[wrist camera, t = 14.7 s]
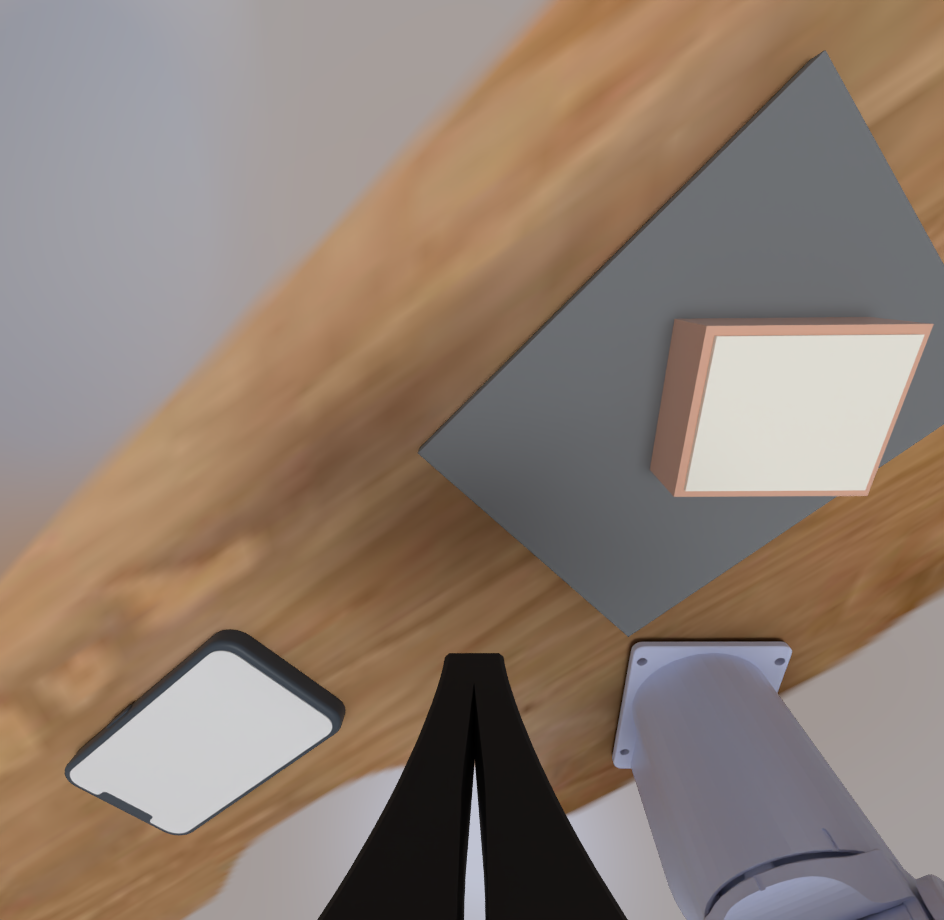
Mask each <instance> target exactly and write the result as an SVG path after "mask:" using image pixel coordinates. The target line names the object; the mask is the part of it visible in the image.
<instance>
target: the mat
mask: <svg viewBox="0 0 944 920" xmlns="http://www.w3.org/2000/svg"><path fill="white" fill-rule="evenodd" d="M804 317H875V318H884V319H893V320H903V321H912V322H921V323H930V324H934V325H933V327H932V330H931V332H930V335H929V338H928V340H927V343H926V345H925V348H924V351H923V353H922V356H921V358H920V361H919V363H918V366H917V369H916V371H915V374H914V376H913V379H912V382H911V384H910V387H909V389H908V392H907V395H906V397H905V400H904V402H903V405H902V407H901V410H900V413H899V415H898V418H897V420H896V423H895V426H894V428H893V431H892V433H891V436H890V439H889V441H888V444H887V446H886V449H885V451H884V454H883V457H882V459H881V462H880V464H879V467H878V468H880V467H881V466H883V465H884V464H886V463H887V462H888V461H890V460H891V459H893V458H894V457H896V456H897V455H899V454H900V453H902V452H903V451H905V450H906V449H908V448H909V447H911V446H912V445H914V444H915V443H917V442H918V441H920V440H921V439H923V438H924V437H926V436H927V435H929V434H930V433H932V432H933V431H934V430H936V429H937V428H939V427H940V426H942V425H943V424H944V264H943V262H942V261H941V259H940V257H939V255H938V253H937V251H936V250H935V248H934V246H933V244H932V242H931V241H930V239H929V237H928V235H927V233H926V232H925V230H924V228H923V226H922V224H921V223H920V221H919V219H918V217H917V215H916V213H915V212H914V210H913V208H912V206H911V204H910V203H909V201H908V199H907V197H906V195H905V194H904V192H903V190H902V188H901V186H900V185H899V183H898V181H897V179H896V177H895V175H894V174H893V172H892V170H891V168H890V166H889V165H888V163H887V161H886V159H885V157H884V156H883V154H882V152H881V150H880V148H879V146H878V145H877V143H876V141H875V139H874V137H873V136H872V134H871V132H870V130H869V128H868V127H867V125H866V123H865V121H864V119H863V118H862V116H861V114H860V112H859V110H858V108H857V107H856V105H855V103H854V101H853V99H852V98H851V96H850V94H849V92H848V90H847V89H846V87H845V85H844V83H843V81H842V79H841V78H840V76H839V74H838V72H837V70H836V69H835V67H834V65H833V63H832V61H831V60H830V58H829V56H828V54H827V52H826V51H823V52H821V53H820V54H818V55H817V56H815V57H814V58H812V59H811V60H810V61H809V62H808V63H807V64H806V65H805V66H804V67H803V68H802V69H801V70H800V71H799V72H797V73H796V74H795V75H794V76H793V77H792V78H791V79H790V80H789V81H788V82H787V83H786V84H785V85H784V86H783V87H782V88H781V89H780V90H779V91H778V92H777V93H776V94H775V95H774V96H773V97H772V98H771V99H770V100H769V101H768V102H767V103H766V104H765V105H764V106H763V107H762V108H761V109H760V110H759V111H758V112H757V113H756V114H755V115H754V116H753V117H752V118H751V119H750V120H749V121H748V122H747V123H746V124H745V125H744V126H743V127H742V128H741V129H740V130H739V131H738V132H737V133H736V134H735V135H734V136H733V137H732V138H731V139H730V140H729V141H728V142H727V143H726V144H725V145H724V146H723V147H722V148H721V149H720V150H719V151H718V152H717V153H716V154H715V155H714V156H713V157H712V158H711V159H710V160H709V161H708V162H707V163H706V164H705V165H704V166H703V167H702V168H701V169H700V170H699V171H698V172H697V173H696V174H695V175H694V176H693V177H692V178H691V179H690V180H689V181H688V182H687V183H686V184H685V185H684V186H683V187H682V188H681V189H680V190H679V191H678V192H677V193H676V194H675V195H674V196H673V197H672V198H671V199H670V200H669V201H668V202H667V203H666V204H665V205H664V206H663V207H662V208H661V209H660V210H659V211H658V212H657V213H656V214H655V215H654V216H653V217H652V218H651V219H650V220H649V221H648V222H647V223H646V224H645V225H644V226H643V227H642V228H641V229H640V230H639V231H638V232H637V233H636V234H635V235H634V236H633V237H631V238H630V239H629V240H628V241H627V242H626V243H625V244H624V245H623V246H622V247H621V248H620V249H619V250H618V251H617V252H616V253H615V254H614V255H613V256H612V257H611V258H610V259H609V260H608V261H607V262H606V263H605V264H604V265H603V266H602V267H601V268H600V269H599V270H598V271H597V272H596V273H595V274H594V275H593V276H592V277H591V278H590V279H589V280H588V281H587V282H586V283H585V284H584V285H583V286H582V287H581V288H580V289H579V290H578V291H577V292H576V293H575V294H574V295H573V296H572V297H571V298H570V299H569V300H568V301H567V302H566V303H565V304H564V305H563V306H562V307H561V308H560V309H559V310H558V311H557V312H556V313H555V314H554V315H553V316H552V317H551V318H550V319H549V320H548V321H547V322H546V323H545V324H544V325H543V326H542V327H541V328H540V329H539V330H538V331H537V332H536V333H535V334H534V335H533V336H532V337H531V338H530V339H529V340H528V341H527V342H526V343H525V344H524V345H523V346H522V347H521V348H520V349H519V350H518V351H517V352H516V353H515V354H514V355H513V356H512V357H511V358H510V359H509V360H508V361H507V362H506V363H505V364H504V365H503V366H502V367H501V368H500V369H499V370H498V371H497V372H496V373H495V374H494V375H493V376H492V377H491V378H490V379H489V380H488V381H487V382H486V383H485V384H484V385H483V386H482V387H481V388H480V389H479V390H478V391H477V392H476V393H475V394H474V395H473V396H472V397H471V398H470V399H469V400H468V401H467V402H465V403H464V404H463V405H462V406H461V407H460V408H459V409H458V410H457V411H456V412H455V413H454V414H453V415H452V416H451V417H450V418H449V419H448V420H447V421H446V422H445V423H444V424H443V425H442V426H441V427H440V428H439V429H438V430H437V431H436V432H435V433H434V434H433V435H432V436H431V437H430V438H429V439H428V440H427V441H426V442H425V443H424V444H423V445H422V446H421V447H420V449H419V452H418V454H419V455H420V456H422V457H423V458H424V459H425V460H426V461H427V462H428V463H430V464H431V465H432V466H433V467H434V468H435V469H436V470H438V471H439V472H440V473H441V474H442V475H443V476H444V477H446V478H447V479H448V480H449V481H450V482H451V483H453V484H454V485H455V486H456V487H457V488H458V489H459V490H461V491H462V492H463V493H464V494H465V495H466V496H467V497H469V498H470V499H471V500H472V501H473V502H474V503H475V504H477V505H478V506H479V507H480V508H481V509H482V510H483V511H485V512H486V513H487V514H488V515H489V516H490V517H492V518H493V519H494V520H495V521H496V522H497V523H498V524H500V525H501V526H502V527H503V528H504V529H505V530H506V531H508V532H509V533H510V534H511V535H512V536H513V537H514V538H516V539H517V540H518V541H519V542H520V543H521V544H523V545H524V546H525V547H526V548H527V549H528V550H529V551H531V552H532V553H533V554H534V555H535V556H536V557H537V558H539V559H540V560H541V561H542V562H543V563H544V564H545V565H547V566H548V567H549V568H550V569H551V570H552V571H554V572H555V573H556V574H557V575H558V576H559V577H560V578H562V579H563V580H564V581H565V582H566V583H567V584H568V585H570V586H571V587H572V588H573V589H574V590H575V591H576V592H578V593H579V594H580V595H581V596H582V597H583V598H585V599H586V600H587V601H588V602H589V603H590V604H591V605H593V606H594V607H595V608H596V609H597V610H598V611H599V612H601V613H602V614H603V615H604V616H605V617H606V618H607V619H609V620H610V621H611V622H612V623H613V624H614V625H615V626H617V627H618V628H619V629H620V630H621V631H622V632H624V633H625V634H626V635H627V636H628V637H629V636H630V635H632V634H633V633H635V632H636V631H638V630H639V629H641V628H642V627H644V626H645V625H647V624H648V623H650V622H651V621H653V620H654V619H656V618H657V617H659V616H660V615H661V614H663V613H664V612H666V611H667V610H669V609H670V608H672V607H673V606H675V605H676V604H678V603H679V602H681V601H682V600H684V599H685V598H687V597H688V596H690V595H691V594H693V593H694V592H696V591H697V590H699V589H700V588H702V587H703V586H705V585H706V584H707V583H709V582H710V581H712V580H713V579H715V578H716V577H718V576H719V575H721V574H722V573H724V572H725V571H727V570H728V569H730V568H731V567H733V566H734V565H736V564H737V563H739V562H740V561H742V560H743V559H745V558H746V557H748V556H749V555H751V554H752V553H753V552H755V551H756V550H758V549H759V548H761V547H762V546H764V545H765V544H767V543H768V542H770V541H771V540H773V539H774V538H776V537H777V536H779V535H780V534H782V533H783V532H785V531H786V530H788V529H789V528H791V527H792V526H794V525H795V524H797V523H798V522H799V521H801V520H802V519H804V518H805V517H807V516H808V515H810V514H811V513H813V512H814V511H816V510H817V509H819V508H820V507H822V506H823V505H825V504H826V503H828V502H829V501H831V500H832V499H834V498H835V497H837V496H739V497H674V496H673V495H672V494H671V493H670V492H669V491H668V490H667V489H666V487H665V486H664V485H663V484H662V483H661V482H660V481H659V480H658V478H657V477H656V476H655V475H654V474H653V473H652V472H651V471H650V466H651V460H652V453H653V447H654V441H655V435H656V429H657V423H658V417H659V411H660V405H661V398H662V392H663V386H664V380H665V374H666V368H667V362H668V356H669V350H670V343H671V337H672V331H673V325H674V319H696V318H804Z"/></svg>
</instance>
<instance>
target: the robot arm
mask: <svg viewBox="0 0 944 920" xmlns="http://www.w3.org/2000/svg"><path fill="white" fill-rule="evenodd" d="M791 654H792V650H791V648H790V647H789V646H788V644H787V643H785V642H638V643H636V644H635V645H633V646H632V649H631V654H630V659H629V665H628V671H627V676H626V682H625V688H624V693H623V699H622V705H621V710H620V716H619V722H618V727H617V733H616V739H615V744H614V750H613V756H612V760H613V763H614V765H615V766H616V767H618V768H632V772H633V775H634V778H635V781H636V784H637V787H638V791H639V794H640V797H641V800H642V803H643V806H644V810H645V812H646V816H647V819H648V822H649V825H650V829H651V832H652V835H653V838H654V841H655V844H656V847H657V850H658V854H659V857H660V860H661V863H662V866H663V870H664V873H665V876H666V879H667V882H668V885H669V888H670V890H671V893H672V895H673V897H674V899H675V901H676V903H677V905H678V907H679V909H680V910H681V912H682V914H683V915H684V917H685V918H686V919H687V920H944V881H943V880H941V879H940V878H939V877H937V876H935V875H932V874H931V875H926V876H923V877H921V878H919V879H915V878H914V877H913V876H911V875H910V874H909V873H908V872H907V871H906V870H904V869H903V867H902V866H901V864H900V863H899V861H898V860H897V859H896V857H895V856H894V854H893V853H892V852H891V850H890V849H889V848H888V846H887V845H886V843H885V842H884V841H883V839H882V838H881V836H880V835H879V834H878V832H877V831H876V829H875V828H874V827H873V825H872V824H871V823H870V821H869V820H868V818H867V817H866V816H865V814H864V813H863V811H862V810H861V809H860V807H859V806H858V804H857V803H856V802H855V801H854V799H853V798H852V796H851V795H850V794H849V792H848V791H847V789H846V788H845V787H844V785H843V784H842V782H841V781H840V779H839V778H838V777H837V775H836V774H835V773H834V771H833V770H832V768H831V767H830V766H829V764H828V763H827V762H826V760H825V759H824V757H823V756H822V754H821V753H820V752H819V750H818V749H817V748H816V746H815V745H814V743H813V742H812V741H811V739H810V738H809V737H808V735H807V734H806V732H805V731H804V729H803V728H802V727H801V725H800V724H799V723H798V721H797V720H796V718H795V717H794V716H793V714H792V713H791V711H790V710H789V709H788V707H787V706H786V704H785V703H784V702H783V700H782V699H781V698H780V696H779V695H778V693H777V692H778V690H779V687H780V684H781V681H782V679H783V676H784V673H785V671H786V668H787V665H788V662H789V660H790V657H791ZM640 658H642V659H640ZM474 762H475V767H476V780H477V792H478V805H479V817H480V830H481V842H482V855H483V868H484V885H485V914H486V920H627V918H626V916H625V915H624V913H623V912H622V910H621V908H620V907H619V905H618V903H617V902H616V900H615V899H614V897H613V896H612V894H611V892H610V891H609V889H608V887H607V886H606V884H605V883H604V881H603V879H602V878H601V876H600V875H599V873H598V871H597V870H596V868H595V867H594V865H593V863H592V861H591V860H590V858H589V856H588V854H587V852H586V851H585V849H584V847H583V845H582V844H581V842H580V840H579V838H578V837H577V835H576V833H575V831H574V830H573V827H572V826H571V824H570V822H569V820H568V818H567V816H566V814H565V813H564V811H563V809H562V807H561V805H560V803H559V801H558V799H557V797H556V795H555V793H554V791H553V789H552V787H551V785H550V783H549V781H548V779H547V776H546V774H545V772H544V770H543V768H542V766H541V764H540V762H539V759H538V757H537V755H536V753H535V750H534V748H533V746H532V743H531V741H530V738H529V736H528V733H527V731H526V729H525V726H524V724H523V721H522V719H521V716H520V713H519V711H518V708H517V705H516V702H515V699H514V696H513V693H512V690H511V687H510V684H509V680H508V677H507V673H506V668H505V664H504V658H503V656H502V655H500V654H499V653H449V654H448V655H447V656H446V657H445V660H444V665H443V670H442V673H441V677H440V681H439V684H438V687H437V690H436V693H435V696H434V699H433V702H432V705H431V707H430V710H429V712H428V715H427V717H426V720H425V722H424V725H423V728H422V730H421V733H420V735H419V737H418V740H417V742H416V744H415V747H414V749H413V751H412V753H411V755H410V757H409V760H408V762H407V764H406V766H405V768H404V770H403V772H402V775H401V777H400V779H399V781H398V783H397V785H396V787H395V789H394V791H393V793H392V795H391V797H390V799H389V801H388V803H387V804H386V806H385V808H384V810H383V812H382V814H381V816H380V817H379V820H378V821H377V823H376V825H375V827H374V828H373V830H372V832H371V834H370V836H369V837H368V839H367V841H366V842H365V844H364V846H363V847H362V849H361V851H360V853H359V854H358V856H357V858H356V860H355V861H354V863H353V865H352V866H351V868H350V870H349V871H348V873H347V875H346V876H345V878H344V880H343V881H342V883H341V884H340V886H339V887H338V889H337V891H336V892H335V894H334V895H333V897H332V899H331V900H330V902H329V903H328V904H327V906H326V907H325V909H324V911H323V912H322V914H321V915H320V917H319V918H318V920H464V896H465V874H466V862H467V850H468V836H469V825H470V812H471V800H472V787H473V774H474Z"/></svg>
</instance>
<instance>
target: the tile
mask: <svg viewBox="0 0 944 920" xmlns="http://www.w3.org/2000/svg"><path fill="white" fill-rule="evenodd" d="M933 325H934V324H930V323H921V322H912V321H903V320H893V319H884V318H875V317H804V318H696V319H674V325H673V331H672V337H671V343H670V350H669V356H668V362H667V368H666V374H665V380H664V386H663V392H662V398H661V405H660V411H659V417H658V423H657V429H656V435H655V441H654V447H653V453H652V460H651V466H650V471H651V472H652V473H653V474H654V475H655V476H656V477H657V478H658V480H659V481H660V482H661V483H662V484H663V485H664V486H665V487H666V489H667V490H668V491H669V492H670V493H671V494H672V495H673V496H674V497H739V496H867V495H868V493H869V490H870V488H871V485H872V482H873V480H874V477H875V475H876V472H877V470H878V467H879V464H880V462H881V459H882V457H883V454H884V451H885V449H886V446H887V444H888V441H889V439H890V436H891V433H892V431H893V428H894V426H895V423H896V420H897V418H898V415H899V413H900V410H901V407H902V405H903V402H904V400H905V397H906V395H907V392H908V389H909V387H910V384H911V382H912V379H913V376H914V374H915V371H916V369H917V366H918V363H919V361H920V358H921V356H922V353H923V351H924V348H925V345H926V343H927V340H928V338H929V335H930V332H931V330H932V327H933Z"/></svg>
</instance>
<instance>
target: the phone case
mask: <svg viewBox="0 0 944 920" xmlns="http://www.w3.org/2000/svg"><path fill="white" fill-rule="evenodd" d="M344 715H345V706H344V704H343V703H342V702H341V700H339V699H338V698H337V697H336V696H334V695H333V694H331V693H330V692H329V691H327V690H326V689H324V688H323V687H322V686H320V685H319V684H317V683H316V682H314V681H313V680H312V679H310V678H309V677H307V676H306V675H305V674H303V673H302V672H300V671H299V670H298V669H296V668H295V667H293V666H292V665H291V664H289V663H288V662H286V661H285V660H284V659H282V658H281V657H279V656H278V655H277V654H275V653H274V652H272V651H271V650H269V649H268V648H267V647H265V646H264V645H262V644H261V643H260V642H258V641H257V640H255V639H254V638H253V637H251V636H250V635H248V634H246V633H244V632H241V631H238V630H223V631H220V632H218V633H216V634H215V635H213V636H212V637H211V638H210V639H209V640H207V641H206V642H205V643H204V644H203V645H202V646H200V647H199V648H198V649H197V650H196V651H194V652H193V653H192V654H191V655H190V656H189V657H187V658H186V659H185V660H184V661H183V662H181V663H180V664H179V665H178V666H177V667H176V668H174V669H173V670H172V671H171V672H170V673H168V674H167V675H166V676H165V677H164V678H163V679H161V680H160V681H159V682H158V683H157V684H156V685H154V686H153V687H152V688H151V689H150V690H149V691H147V692H146V693H145V694H144V695H143V696H142V697H140V698H139V699H138V700H137V701H136V702H135V703H133V704H132V705H129V706H128V707H127V708H126V709H125V710H123V711H122V712H121V713H120V714H119V715H118V716H116V717H115V718H114V719H113V720H112V721H111V722H110V723H109V724H108V726H107V727H105V728H104V729H103V730H102V731H101V732H100V733H98V734H97V735H96V736H95V737H94V738H93V739H91V740H90V741H89V742H88V743H87V744H86V745H84V746H83V747H82V748H81V749H80V750H79V751H78V752H77V753H76V755H75V756H74V757H73V758H72V759H71V761H70V762H69V763H68V764H67V766H66V768H65V776H66V778H67V780H68V781H69V782H70V783H71V784H73V785H74V786H76V787H78V788H80V789H82V790H84V791H86V792H88V793H90V794H92V795H94V796H96V797H97V798H99V799H101V800H103V801H105V802H107V803H109V804H111V805H113V806H115V807H117V808H119V809H121V810H123V811H125V812H127V813H129V814H131V815H133V816H135V817H136V818H138V819H140V820H142V821H144V822H146V823H148V824H150V825H152V826H154V827H156V828H158V829H160V830H162V831H164V832H166V833H169V834H172V835H186V834H189V833H191V832H193V831H194V830H196V829H197V828H199V827H200V826H202V825H203V824H205V823H206V822H207V821H209V820H210V819H212V818H213V817H215V816H216V815H218V814H219V813H221V812H222V811H223V810H225V809H226V808H228V807H229V806H231V805H232V804H234V803H235V802H237V801H238V800H239V799H241V798H242V797H244V796H245V795H247V794H248V793H250V792H251V791H253V790H254V789H255V788H257V787H258V786H260V785H261V784H263V783H264V782H266V781H267V780H269V779H270V778H271V777H273V776H274V775H276V774H277V773H279V772H280V771H282V770H283V769H285V768H286V767H287V766H289V765H290V764H292V763H293V762H295V761H296V760H298V759H299V758H301V757H302V756H303V755H305V754H306V753H308V752H309V751H311V750H312V749H314V748H315V747H317V746H318V745H319V744H321V743H322V742H324V741H325V740H327V739H328V738H330V737H331V736H333V735H334V734H335V733H336V732H338V731H339V729H340V728H341V725H342V722H343V718H344Z"/></svg>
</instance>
